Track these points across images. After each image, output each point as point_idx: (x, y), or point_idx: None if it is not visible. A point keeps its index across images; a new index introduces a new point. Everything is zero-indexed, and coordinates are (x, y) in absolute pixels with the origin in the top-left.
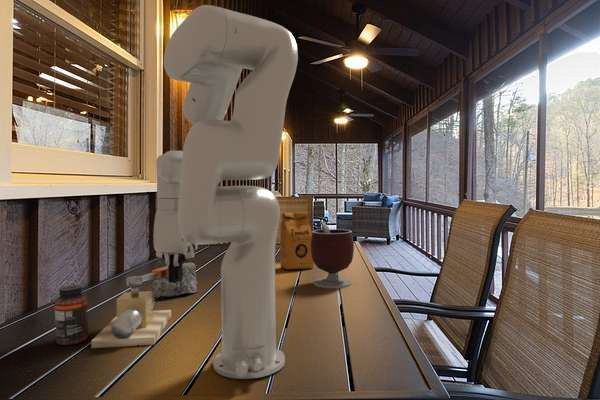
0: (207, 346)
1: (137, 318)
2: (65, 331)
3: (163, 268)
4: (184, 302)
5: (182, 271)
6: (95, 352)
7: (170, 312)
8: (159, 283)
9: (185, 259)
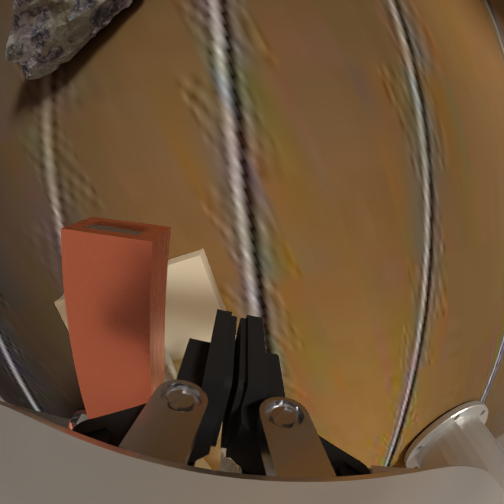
0: (389, 418)
1: (225, 464)
2: None
3: (108, 371)
4: (168, 64)
5: (281, 376)
6: None
7: (205, 265)
8: (27, 42)
9: (337, 461)
